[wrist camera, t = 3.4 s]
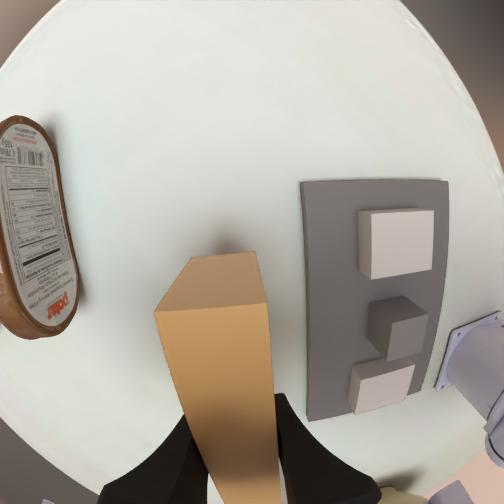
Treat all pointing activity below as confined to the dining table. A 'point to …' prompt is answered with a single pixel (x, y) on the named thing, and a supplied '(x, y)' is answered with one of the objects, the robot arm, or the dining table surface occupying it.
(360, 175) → the dining table surface
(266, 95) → the dining table surface
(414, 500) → the beige sack vase
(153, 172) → the dining table surface
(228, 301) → the frame
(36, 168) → the tin
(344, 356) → the stand
